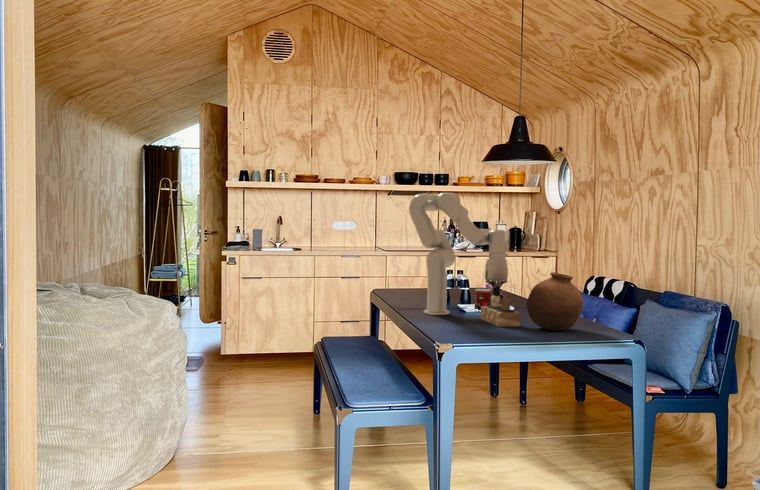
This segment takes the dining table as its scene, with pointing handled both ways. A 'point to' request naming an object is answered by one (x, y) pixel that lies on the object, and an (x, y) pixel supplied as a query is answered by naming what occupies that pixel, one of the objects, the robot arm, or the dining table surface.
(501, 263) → the robot arm
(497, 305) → the maple peg
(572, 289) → the pottery
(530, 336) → the dining table surface
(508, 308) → the walnut peg
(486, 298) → the canned food
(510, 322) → the oak block
